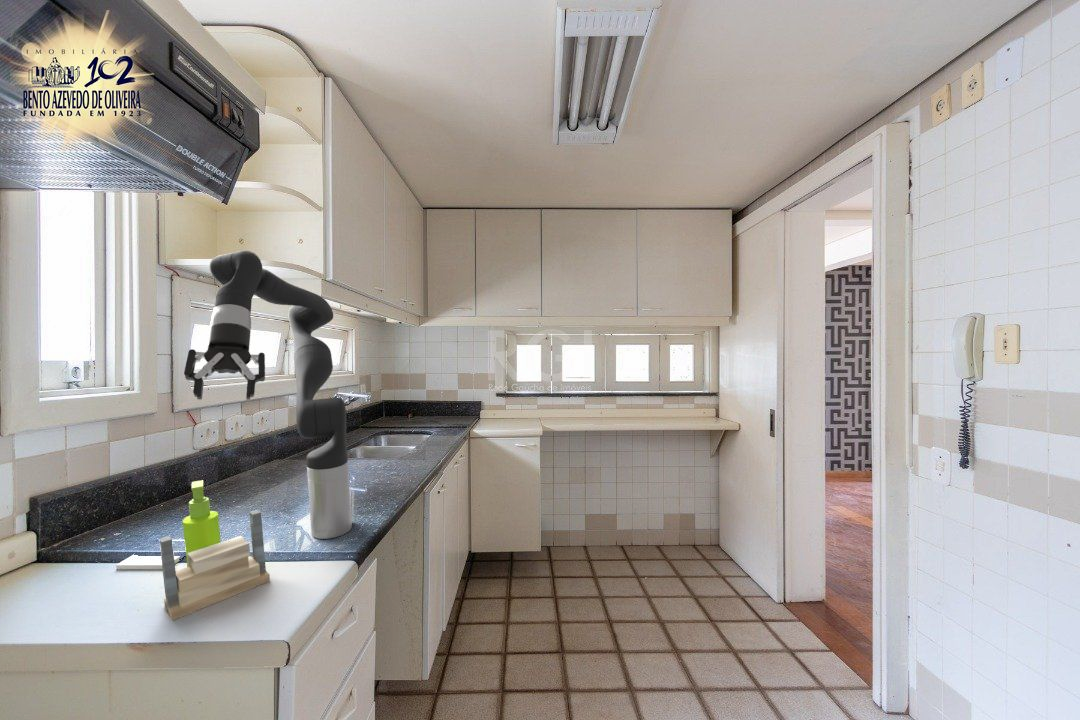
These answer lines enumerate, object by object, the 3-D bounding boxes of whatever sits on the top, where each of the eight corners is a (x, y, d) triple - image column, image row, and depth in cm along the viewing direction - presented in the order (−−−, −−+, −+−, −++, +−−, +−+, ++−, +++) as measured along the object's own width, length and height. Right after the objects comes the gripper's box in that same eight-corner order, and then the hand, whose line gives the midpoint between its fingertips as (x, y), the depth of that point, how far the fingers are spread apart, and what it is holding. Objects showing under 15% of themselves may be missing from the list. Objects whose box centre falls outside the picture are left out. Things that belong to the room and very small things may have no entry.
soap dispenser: (223, 564, 102) (214, 475, 100) (223, 579, 97) (214, 485, 94) (189, 573, 99) (180, 481, 97) (188, 589, 93) (178, 492, 91)
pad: (159, 543, 112) (158, 539, 112) (204, 543, 111) (204, 539, 111) (116, 569, 101) (116, 564, 101) (166, 569, 100) (166, 565, 100)
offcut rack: (164, 606, 88) (156, 535, 86) (259, 570, 100) (254, 506, 98) (172, 620, 84) (164, 545, 82) (269, 580, 96) (264, 514, 94)
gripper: (267, 339, 111) (263, 404, 105) (193, 334, 104) (184, 404, 98) (268, 324, 105) (263, 392, 99) (189, 318, 98) (179, 391, 92)
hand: (224, 398), depth 98 cm, fingers open, 8 cm apart
